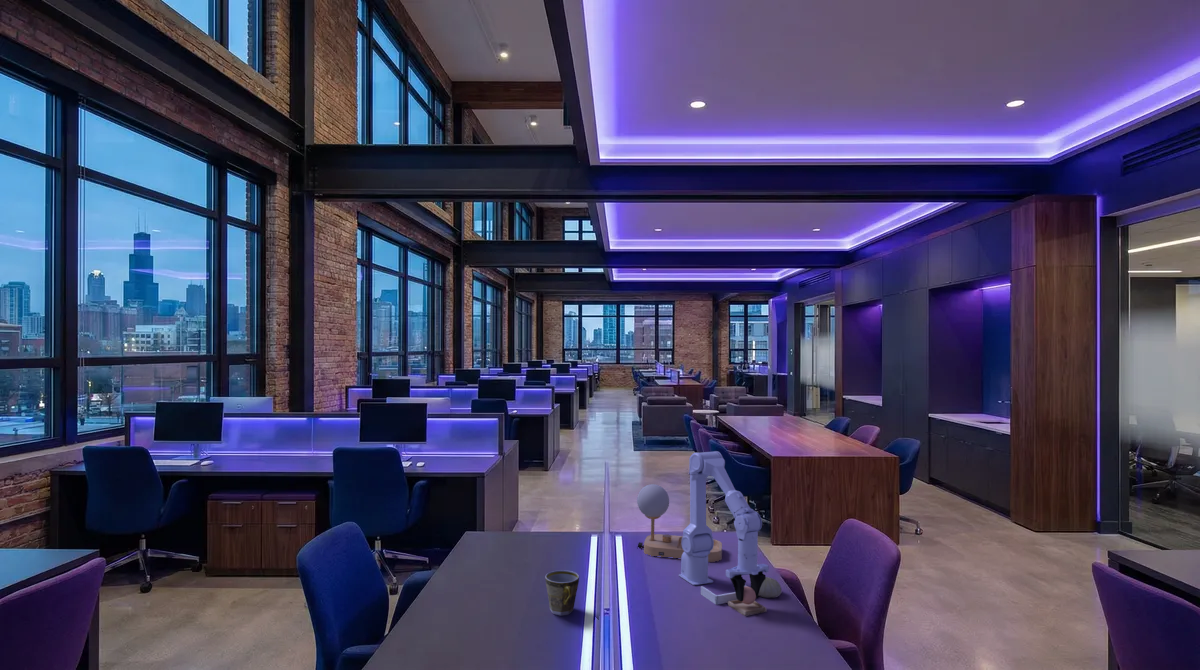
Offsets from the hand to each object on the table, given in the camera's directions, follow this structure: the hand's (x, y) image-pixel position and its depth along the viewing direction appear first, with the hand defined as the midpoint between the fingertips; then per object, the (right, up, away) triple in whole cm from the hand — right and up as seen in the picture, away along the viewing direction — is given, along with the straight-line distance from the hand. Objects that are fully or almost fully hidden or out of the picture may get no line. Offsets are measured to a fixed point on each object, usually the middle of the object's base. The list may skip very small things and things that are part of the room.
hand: (747, 598), depth 176 cm
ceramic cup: (-55, -2, -6) cm, 55 cm away
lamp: (-14, -5, +50) cm, 53 cm away
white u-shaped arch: (-4, -3, +9) cm, 10 cm away
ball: (0, -2, 0) cm, 2 cm away
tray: (0, -3, 0) cm, 3 cm away
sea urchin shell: (+9, -4, +12) cm, 15 cm away
